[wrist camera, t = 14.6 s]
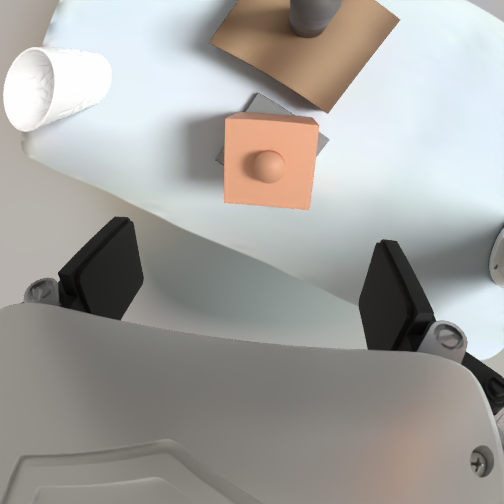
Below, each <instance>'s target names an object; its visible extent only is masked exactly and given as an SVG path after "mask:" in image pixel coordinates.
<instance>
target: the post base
mask: <svg viewBox="0 0 504 504" xmlns="http://www.w3.org/2000/svg"><path fill="white" fill-rule="evenodd" d="M399 21H400V19H399V18H397V17H396V16H395V15H394V14H392V13H391V12H390V11H388V10H387V9H386V8H385V7H383V6H382V5H381V4H379V3H378V2H376V1H375V0H239V1H238V2H237V4H236V5H235V6H234V8H233V9H232V10H231V12H230V13H229V14H228V16H227V17H226V18H225V20H224V21H223V23H222V24H221V26H220V27H219V28H218V30H217V31H216V33H215V34H214V36H213V37H212V39H211V40H210V42H209V43H210V44H212V45H214V46H216V47H218V48H220V49H222V50H224V51H226V52H228V53H230V54H231V55H233V56H235V57H237V58H239V59H241V60H243V61H245V62H246V63H248V64H250V65H252V66H254V67H255V68H257V69H259V70H261V71H262V72H264V73H266V74H267V75H269V76H271V77H272V78H274V79H276V80H277V81H279V82H281V83H282V84H284V85H285V86H287V87H289V88H290V89H292V90H293V91H295V92H296V93H298V94H299V95H301V96H302V97H304V98H305V99H307V100H308V101H310V102H311V103H313V104H314V105H316V106H317V107H319V108H320V109H321V110H323V111H324V112H326V113H327V114H328V113H329V112H330V110H331V109H332V108H333V106H334V105H335V104H336V102H337V101H338V100H339V98H340V97H341V96H342V94H343V93H344V92H345V90H346V89H347V88H348V86H349V85H350V84H351V83H352V81H353V80H354V79H355V77H356V76H357V75H358V73H359V72H360V71H361V70H362V68H363V67H364V66H365V64H366V63H367V62H368V60H369V59H370V58H371V57H372V55H373V54H374V53H375V51H376V50H377V49H378V48H379V46H380V45H381V44H382V42H383V41H384V40H385V39H386V37H387V36H388V35H389V34H390V32H391V31H392V30H393V29H394V27H395V26H396V25H397V23H398V22H399Z"/></svg>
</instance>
